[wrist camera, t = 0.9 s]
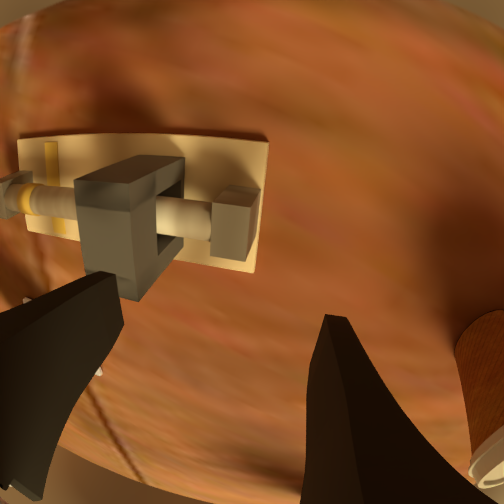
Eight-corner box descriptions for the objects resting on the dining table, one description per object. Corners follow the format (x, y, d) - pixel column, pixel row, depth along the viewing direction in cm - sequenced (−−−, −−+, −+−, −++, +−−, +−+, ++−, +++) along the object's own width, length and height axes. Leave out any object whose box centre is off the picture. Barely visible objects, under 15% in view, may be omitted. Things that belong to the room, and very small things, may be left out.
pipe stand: (32, 227, 22) (0, 247, 18) (22, 138, 18) (-15, 149, 15) (255, 268, 20) (242, 306, 16) (269, 142, 16) (258, 151, 13)
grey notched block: (141, 239, 19) (88, 288, 14) (139, 154, 17) (73, 179, 11) (183, 246, 19) (138, 302, 14) (185, 157, 16) (128, 183, 11)
